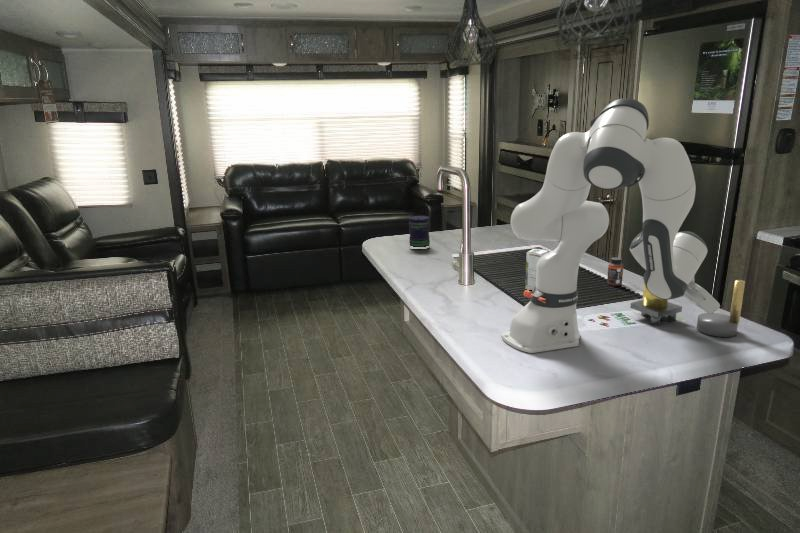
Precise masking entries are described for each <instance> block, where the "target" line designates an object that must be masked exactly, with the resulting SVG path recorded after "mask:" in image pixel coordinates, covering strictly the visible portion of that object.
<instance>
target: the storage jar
mask: <svg viewBox="0 0 800 533" xmlns="http://www.w3.org/2000/svg"><path fill="white" fill-rule="evenodd" d="M408 228H409V229H408V230H409V247H410V246H413V247H426V246H430V244H431V240H430V216H427V215H412V216H409V217H408Z"/></svg>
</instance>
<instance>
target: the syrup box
mask: <svg viewBox="0 0 800 533" xmlns="http://www.w3.org/2000/svg"><path fill="white" fill-rule="evenodd" d="M547 253H549V250H545V249H542V248H532V249H531V250H529V251H526V259H525V260H526V261H525V280H524V281H525V282H524V290H525V289H527V290H532V291H531V292H533V290H534V288H535V286H536V271H537V262H538V260H539V259H540V258H541V257H542V256H543V255H545V254H547Z"/></svg>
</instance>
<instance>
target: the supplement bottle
mask: <svg viewBox="0 0 800 533" xmlns="http://www.w3.org/2000/svg"><path fill="white" fill-rule="evenodd" d="M607 267H608V268H607V276H606V277H607V280H606V284H608V285H609V286H615V287H616V286H617V287H618V286H621V285H623V275H624V263H622V258H621V257H616V256H615V257H611V258H610V262H608V266H607Z"/></svg>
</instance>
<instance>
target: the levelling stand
mask: <svg viewBox="0 0 800 533" xmlns="http://www.w3.org/2000/svg"><path fill="white" fill-rule="evenodd" d="M630 309H633V310H635V311H638V312H640V316H641V317H644V318H646V317H647V318H648V317H650V316H651V317H650V326H653V327H657V326H658V327H659V326H660V323H661V322H660V321H661V318H664V317H666V321H669V322H676V321H677V314H678V313H681V312H682V310H683V306H681V305H679V304H676V303H672V302H670V301H669V299H668V300H664V299H660V298H658V297H656V296H654V295H653V294H651V293H650V292H649V291H648V289H647V287H646V285H645V283H644V282H643V291H642V300H638V301H633V302H631V303H630Z"/></svg>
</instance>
